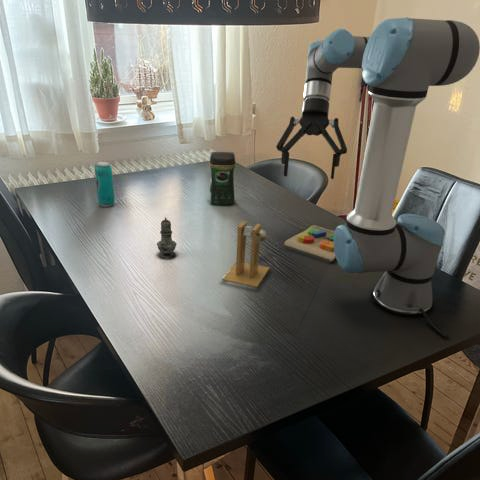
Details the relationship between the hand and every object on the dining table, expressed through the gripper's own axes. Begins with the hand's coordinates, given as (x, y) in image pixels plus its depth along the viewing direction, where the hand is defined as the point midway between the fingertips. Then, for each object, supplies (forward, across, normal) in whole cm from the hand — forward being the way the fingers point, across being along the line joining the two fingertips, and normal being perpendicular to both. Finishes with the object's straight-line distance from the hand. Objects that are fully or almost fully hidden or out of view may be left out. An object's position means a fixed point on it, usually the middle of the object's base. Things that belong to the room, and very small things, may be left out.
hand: (308, 176), depth 145 cm
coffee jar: (+4, +35, -38) cm, 52 cm away
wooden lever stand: (+31, +14, +10) cm, 35 cm away
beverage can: (+10, +74, -22) cm, 77 cm away
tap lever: (+20, +13, +10) cm, 26 cm away
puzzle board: (+19, -5, -16) cm, 25 cm away
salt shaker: (+26, +40, +4) cm, 48 cm away
